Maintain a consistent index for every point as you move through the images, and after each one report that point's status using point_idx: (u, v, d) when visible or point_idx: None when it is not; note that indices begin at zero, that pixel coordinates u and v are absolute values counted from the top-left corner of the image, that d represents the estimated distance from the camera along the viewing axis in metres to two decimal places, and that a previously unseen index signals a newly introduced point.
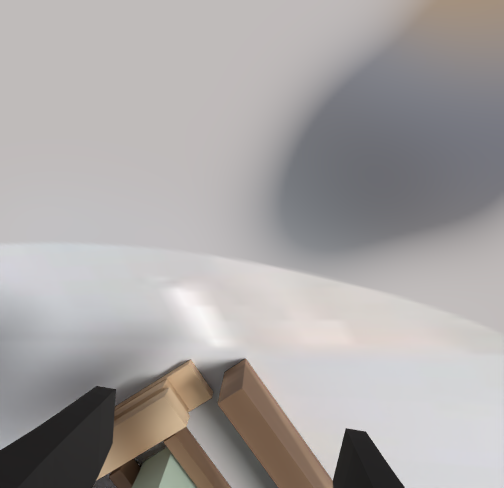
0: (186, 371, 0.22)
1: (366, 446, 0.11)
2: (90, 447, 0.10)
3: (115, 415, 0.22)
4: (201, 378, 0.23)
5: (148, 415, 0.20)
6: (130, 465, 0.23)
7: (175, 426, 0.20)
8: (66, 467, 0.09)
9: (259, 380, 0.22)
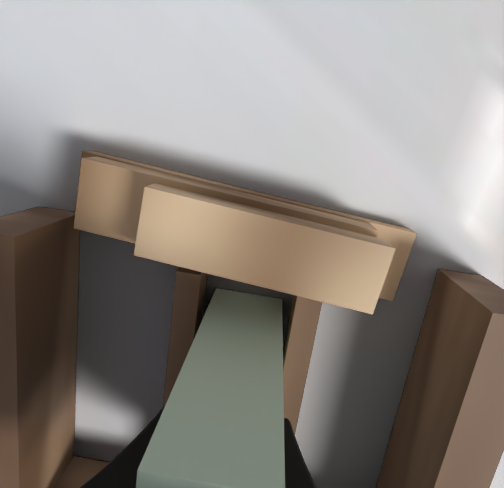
0: (403, 238, 0.12)
1: None
2: None
3: (269, 203, 0.11)
4: None
5: (342, 251, 0.11)
6: (204, 279, 0.13)
7: (359, 300, 0.11)
8: None
9: None
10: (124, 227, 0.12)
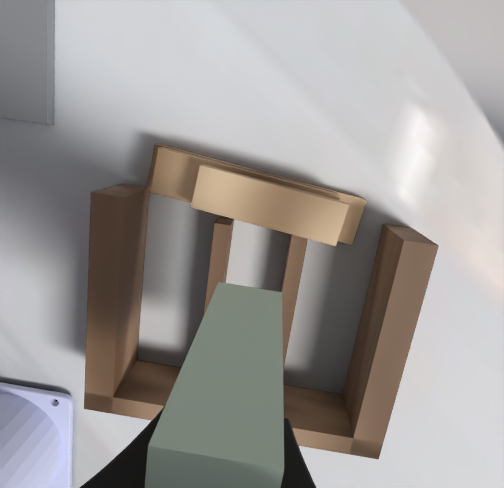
0: (358, 203, 0.19)
1: None
2: None
3: (274, 178, 0.19)
4: None
5: (317, 206, 0.18)
6: (231, 230, 0.20)
7: (327, 237, 0.18)
8: None
9: None
10: (182, 192, 0.19)
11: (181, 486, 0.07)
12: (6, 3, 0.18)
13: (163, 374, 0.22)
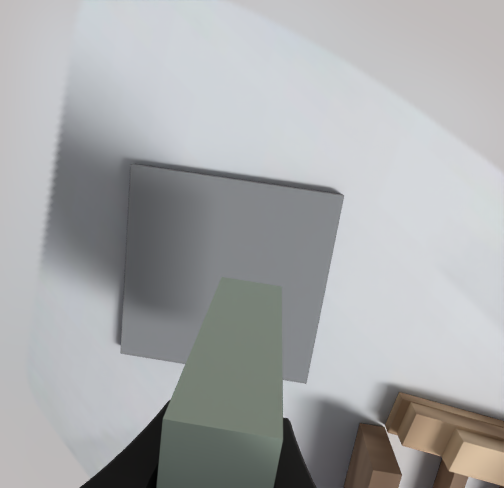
0: None
1: None
2: None
3: None
4: None
5: None
6: None
7: None
8: None
9: None
10: (431, 447, 0.22)
11: (192, 455, 0.08)
12: (287, 295, 0.21)
13: None
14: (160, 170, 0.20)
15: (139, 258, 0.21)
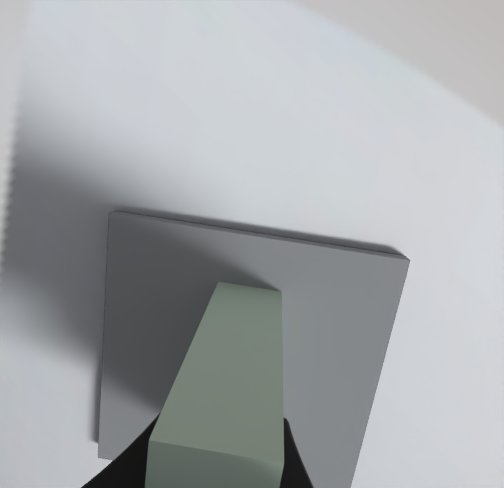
0: None
1: None
2: None
3: None
4: None
5: None
6: None
7: None
8: None
9: None
10: None
11: (182, 481, 0.07)
12: (324, 390, 0.15)
13: None
14: (150, 222, 0.14)
15: (122, 338, 0.15)
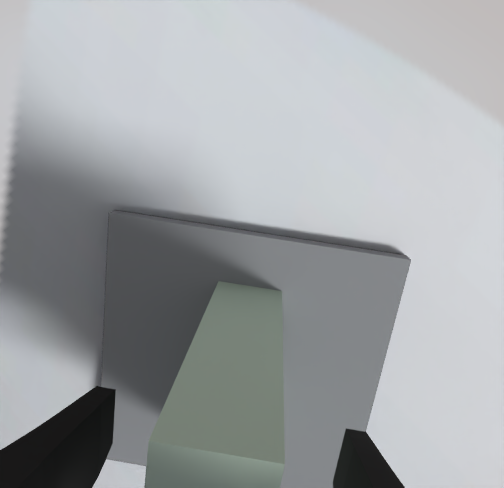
0: None
1: (366, 446, 0.11)
2: (90, 447, 0.10)
3: None
4: None
5: None
6: None
7: None
8: (66, 467, 0.09)
9: None
10: None
11: (181, 481, 0.07)
12: (325, 390, 0.15)
13: None
14: (150, 221, 0.14)
15: (122, 338, 0.15)
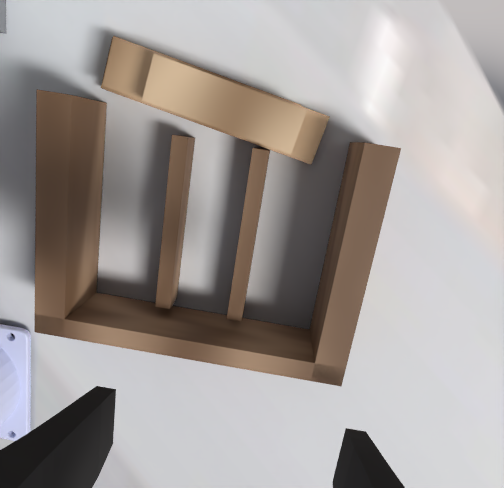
0: (320, 119, 0.19)
1: (366, 446, 0.11)
2: (90, 447, 0.10)
3: (233, 80, 0.18)
4: None
5: (274, 108, 0.17)
6: (191, 147, 0.19)
7: (283, 144, 0.17)
8: (66, 467, 0.09)
9: None
10: (136, 87, 0.18)
11: None
12: None
13: (122, 304, 0.22)
14: None
15: None
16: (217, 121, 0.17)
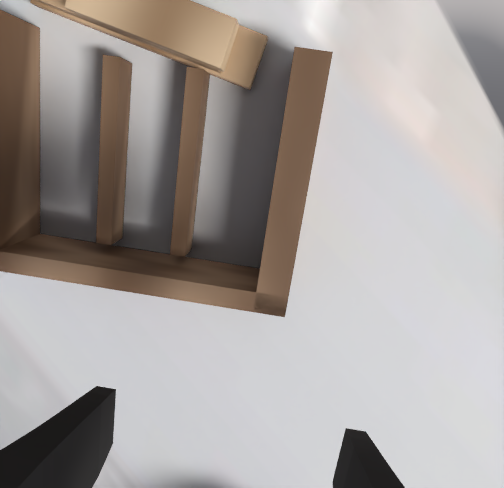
0: (258, 39, 0.18)
1: (366, 446, 0.11)
2: (90, 447, 0.10)
3: None
4: (258, 64, 0.19)
5: (202, 17, 0.16)
6: (127, 72, 0.19)
7: (212, 56, 0.16)
8: (66, 467, 0.09)
9: None
10: None
11: None
12: None
13: (64, 243, 0.21)
14: None
15: None
16: (143, 31, 0.16)
